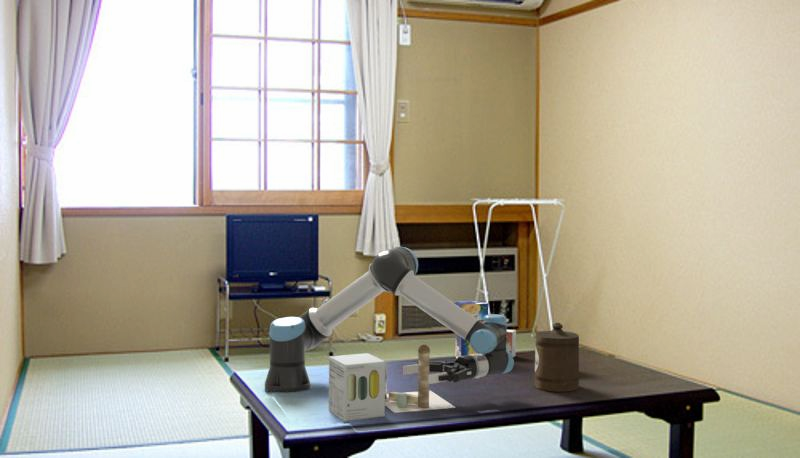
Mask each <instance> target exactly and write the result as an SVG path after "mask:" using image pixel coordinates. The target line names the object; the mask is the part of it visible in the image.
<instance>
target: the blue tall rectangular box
mask: <svg viewBox="0 0 800 458" xmlns="http://www.w3.org/2000/svg"><path fill="white" fill-rule="evenodd" d="M455 304H456V305H458V306H459V307H460V308H462V309H463V310H465V311H466V312H468V313H469V314H471V315H472V316H473V317H475V318H476V319H478V320H479V321H480V322H482V323H483V320H484V316H486V315H489V302H485V301H483V300H474V301H473V300H472V301H470V300H469V301H467V300H466V301H455ZM454 351H455V354H454V356H455V357H456V358H455V359H457V358H458V357H459V356H465V355H470V354H478V353H477V352H475V351H474V350H473V349H472V347H471V345H470V343H469V342H467V341H466V340H464V339H463V338H462V337H460V336H459V335H457V334H456V333H455V350H454Z"/></svg>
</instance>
